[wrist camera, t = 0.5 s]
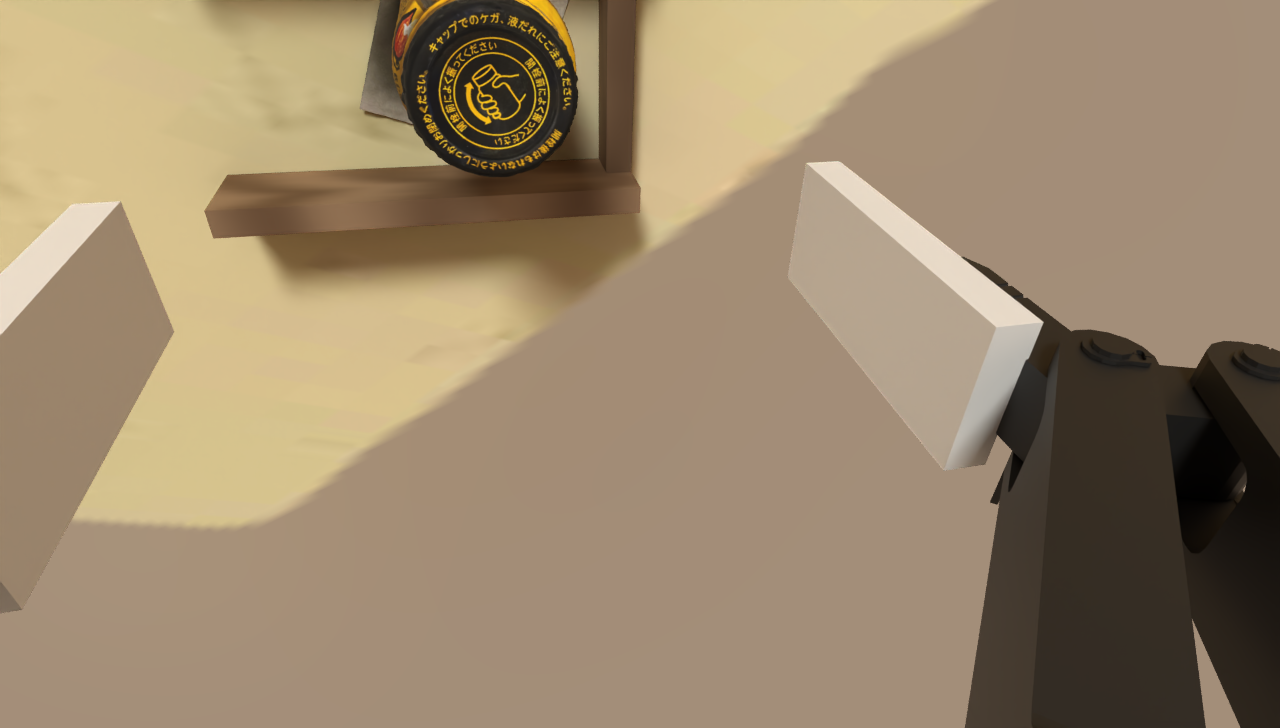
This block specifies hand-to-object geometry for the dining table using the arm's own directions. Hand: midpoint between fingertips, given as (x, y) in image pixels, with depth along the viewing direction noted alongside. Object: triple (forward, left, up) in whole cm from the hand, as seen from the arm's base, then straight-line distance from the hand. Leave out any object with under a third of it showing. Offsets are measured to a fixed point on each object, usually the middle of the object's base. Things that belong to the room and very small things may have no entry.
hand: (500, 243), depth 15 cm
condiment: (0, 0, -21) cm, 21 cm away
